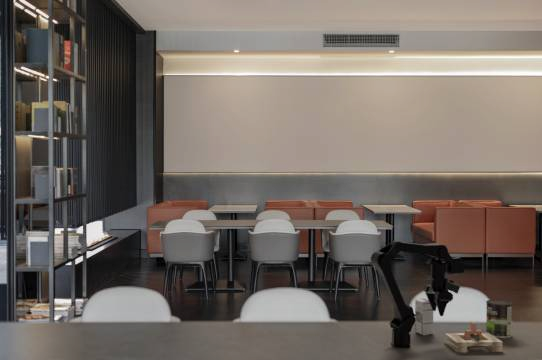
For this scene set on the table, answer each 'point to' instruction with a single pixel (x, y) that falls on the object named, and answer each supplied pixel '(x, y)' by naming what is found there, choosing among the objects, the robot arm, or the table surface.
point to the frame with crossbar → (473, 342)
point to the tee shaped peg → (472, 332)
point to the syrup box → (423, 317)
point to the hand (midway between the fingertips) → (437, 313)
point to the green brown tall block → (499, 318)
